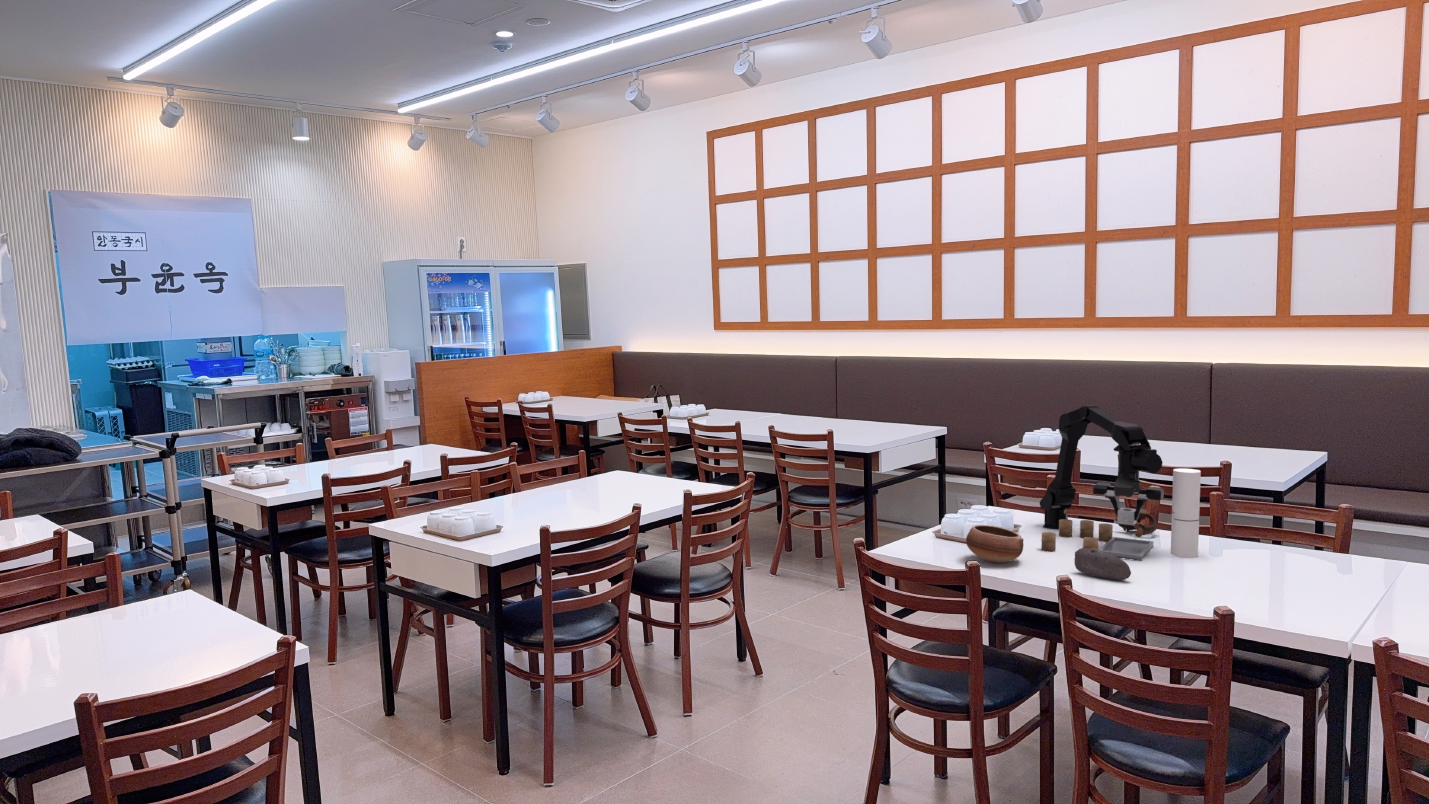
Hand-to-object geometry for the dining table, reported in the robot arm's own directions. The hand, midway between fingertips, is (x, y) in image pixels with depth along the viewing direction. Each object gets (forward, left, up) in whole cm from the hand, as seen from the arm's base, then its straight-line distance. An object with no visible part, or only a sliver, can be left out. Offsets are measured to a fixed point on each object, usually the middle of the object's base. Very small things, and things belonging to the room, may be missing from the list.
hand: (1127, 519), depth 276 cm
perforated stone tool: (0, -32, -10) cm, 34 cm away
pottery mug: (-1, +24, -10) cm, 26 cm away
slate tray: (0, 0, -10) cm, 10 cm away
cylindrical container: (+15, +4, -10) cm, 18 cm away
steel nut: (0, 0, -1) cm, 1 cm away
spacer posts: (-14, 0, -10) cm, 17 cm away
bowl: (-30, -31, -10) cm, 44 cm away
